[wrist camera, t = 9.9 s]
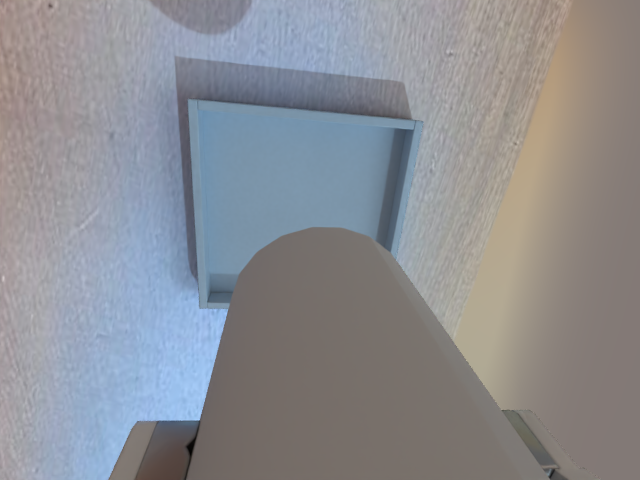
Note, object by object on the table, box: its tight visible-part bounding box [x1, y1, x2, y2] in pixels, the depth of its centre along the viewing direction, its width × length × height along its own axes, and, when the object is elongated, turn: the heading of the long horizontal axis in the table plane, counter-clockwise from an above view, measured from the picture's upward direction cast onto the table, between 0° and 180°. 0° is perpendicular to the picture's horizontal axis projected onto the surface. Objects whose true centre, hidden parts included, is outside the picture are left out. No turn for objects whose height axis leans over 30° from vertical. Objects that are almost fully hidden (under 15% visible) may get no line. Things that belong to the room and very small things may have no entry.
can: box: [186, 227, 550, 480], centre depth 9 cm, size 8×8×12 cm
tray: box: [187, 99, 423, 309], centre depth 25 cm, size 15×15×2 cm
